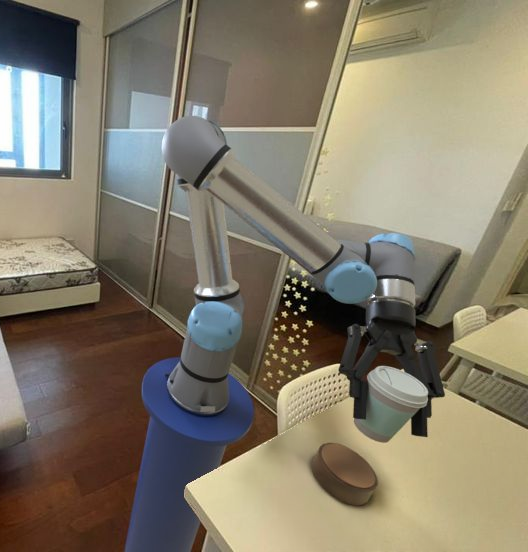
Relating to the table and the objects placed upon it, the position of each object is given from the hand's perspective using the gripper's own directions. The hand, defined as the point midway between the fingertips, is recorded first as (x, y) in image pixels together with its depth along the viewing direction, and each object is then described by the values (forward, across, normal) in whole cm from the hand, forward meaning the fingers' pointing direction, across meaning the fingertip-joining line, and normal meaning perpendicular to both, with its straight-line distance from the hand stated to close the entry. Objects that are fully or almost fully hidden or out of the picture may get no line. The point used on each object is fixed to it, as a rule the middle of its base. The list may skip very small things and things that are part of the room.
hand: (388, 427), depth 55 cm
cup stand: (+11, +2, -12) cm, 17 cm away
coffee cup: (+1, 0, -5) cm, 5 cm away
